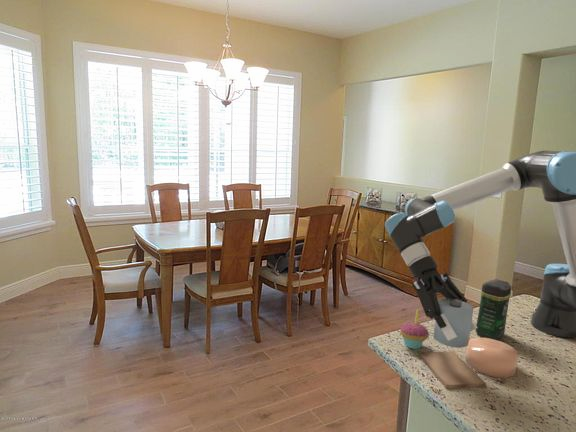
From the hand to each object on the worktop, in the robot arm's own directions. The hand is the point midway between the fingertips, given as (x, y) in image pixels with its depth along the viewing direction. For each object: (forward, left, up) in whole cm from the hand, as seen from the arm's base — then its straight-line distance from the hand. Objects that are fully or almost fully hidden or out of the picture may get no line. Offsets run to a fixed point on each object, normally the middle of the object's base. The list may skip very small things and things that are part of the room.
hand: (463, 334), depth 106 cm
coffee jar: (-25, -23, -12) cm, 36 cm away
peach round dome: (-13, -5, -12) cm, 18 cm away
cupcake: (+5, -17, -12) cm, 22 cm away
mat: (+1, -3, -12) cm, 13 cm away
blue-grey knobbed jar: (+2, -3, -3) cm, 4 cm away
